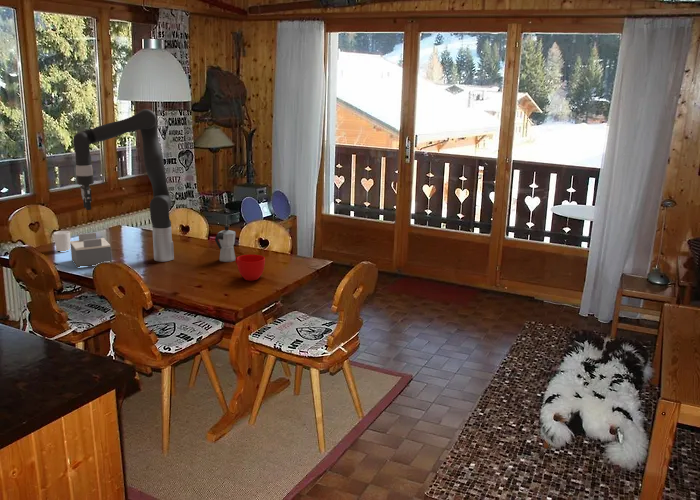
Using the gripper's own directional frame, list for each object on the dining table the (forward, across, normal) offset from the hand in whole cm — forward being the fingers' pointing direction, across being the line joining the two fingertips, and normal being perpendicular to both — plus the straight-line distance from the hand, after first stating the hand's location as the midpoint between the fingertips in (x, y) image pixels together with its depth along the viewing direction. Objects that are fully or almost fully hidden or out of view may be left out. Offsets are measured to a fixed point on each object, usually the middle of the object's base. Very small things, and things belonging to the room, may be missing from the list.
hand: (87, 208), depth 323 cm
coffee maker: (+28, -25, -61) cm, 71 cm away
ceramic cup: (+28, -57, -60) cm, 87 cm away
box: (+27, 0, 0) cm, 27 cm away
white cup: (+28, +28, +9) cm, 41 cm away
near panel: (+18, -4, 0) cm, 19 cm away
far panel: (+18, +4, 0) cm, 19 cm away
